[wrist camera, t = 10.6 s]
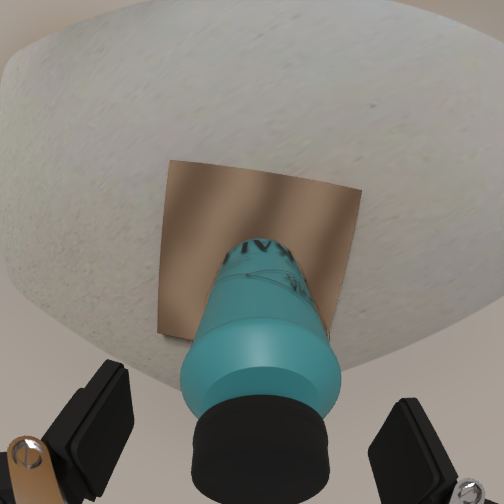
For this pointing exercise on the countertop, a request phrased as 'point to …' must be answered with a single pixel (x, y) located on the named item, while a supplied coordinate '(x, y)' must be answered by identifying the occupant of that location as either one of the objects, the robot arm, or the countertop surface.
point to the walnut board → (247, 234)
